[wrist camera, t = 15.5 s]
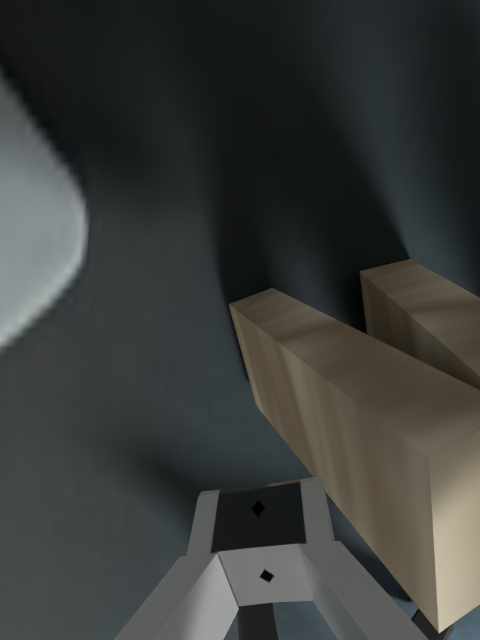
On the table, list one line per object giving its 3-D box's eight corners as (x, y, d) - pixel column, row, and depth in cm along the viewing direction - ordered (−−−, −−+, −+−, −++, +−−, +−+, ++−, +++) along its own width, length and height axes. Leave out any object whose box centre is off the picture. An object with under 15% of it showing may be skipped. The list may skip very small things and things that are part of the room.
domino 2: (372, 376, 17) (542, 639, 8) (359, 270, 15) (567, 452, 6) (417, 366, 17) (646, 623, 7) (410, 258, 15) (709, 424, 5)
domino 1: (256, 404, 17) (438, 633, 8) (228, 304, 15) (429, 459, 6) (294, 387, 17) (506, 584, 9) (272, 287, 16) (516, 408, 7)
